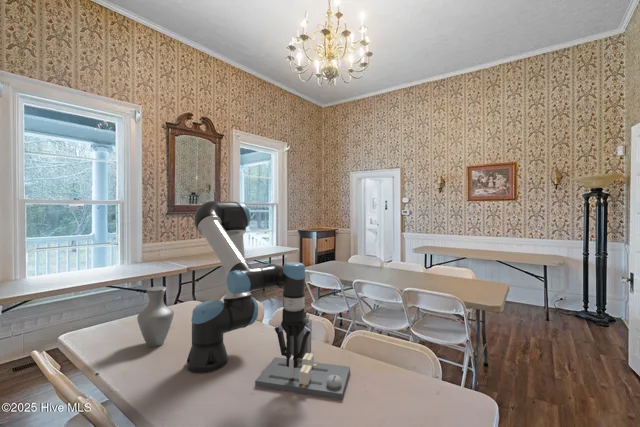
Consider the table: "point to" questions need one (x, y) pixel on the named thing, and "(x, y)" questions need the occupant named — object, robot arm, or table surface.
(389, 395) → the table surface
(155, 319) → the vase
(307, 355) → the fader far
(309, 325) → the perfume bottle
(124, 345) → the table surface
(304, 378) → the fader near
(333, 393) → the console
